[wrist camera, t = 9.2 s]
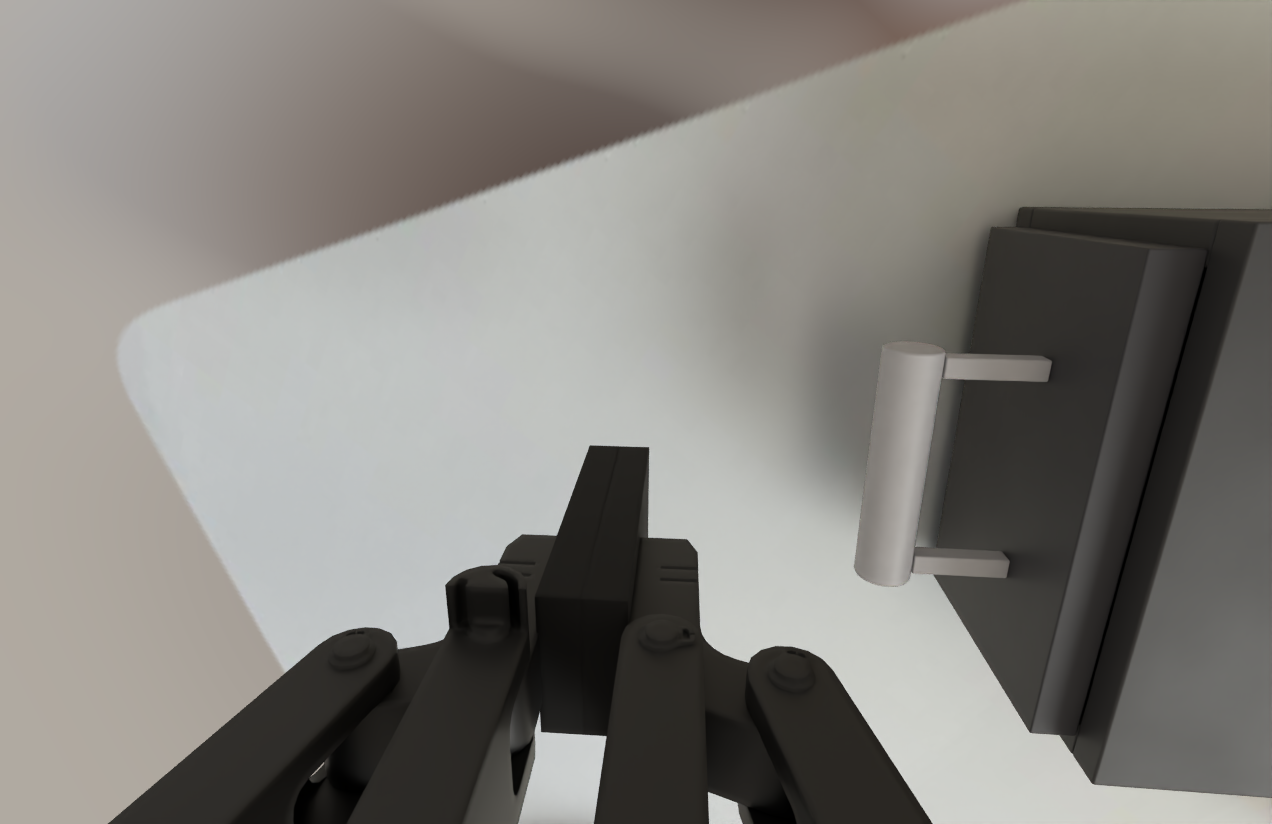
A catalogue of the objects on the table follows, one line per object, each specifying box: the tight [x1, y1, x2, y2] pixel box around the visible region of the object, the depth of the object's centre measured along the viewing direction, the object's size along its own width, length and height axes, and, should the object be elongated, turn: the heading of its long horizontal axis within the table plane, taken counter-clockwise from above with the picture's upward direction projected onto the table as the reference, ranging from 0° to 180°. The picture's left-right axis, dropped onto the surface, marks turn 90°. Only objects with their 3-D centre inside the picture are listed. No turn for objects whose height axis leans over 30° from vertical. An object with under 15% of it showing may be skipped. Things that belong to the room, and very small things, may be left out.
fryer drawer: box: [854, 227, 1208, 736], centre depth 19 cm, size 19×13×8 cm
